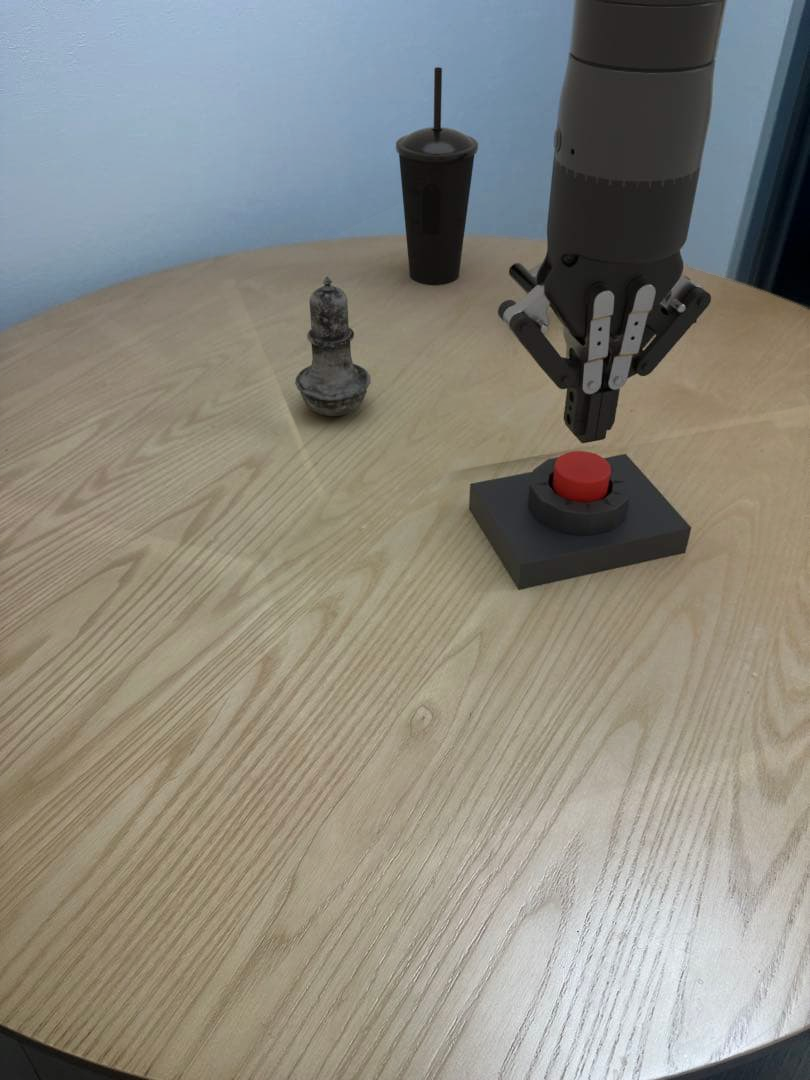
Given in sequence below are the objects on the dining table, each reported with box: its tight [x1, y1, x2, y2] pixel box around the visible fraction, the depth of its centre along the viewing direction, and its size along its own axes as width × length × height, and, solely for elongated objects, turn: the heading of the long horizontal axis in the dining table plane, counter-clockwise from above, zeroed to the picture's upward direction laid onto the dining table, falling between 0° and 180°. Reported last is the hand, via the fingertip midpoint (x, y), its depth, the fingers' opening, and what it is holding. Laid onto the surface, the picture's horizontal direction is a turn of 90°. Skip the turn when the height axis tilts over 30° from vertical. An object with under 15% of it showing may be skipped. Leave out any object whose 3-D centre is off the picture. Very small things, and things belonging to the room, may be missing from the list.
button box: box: [468, 453, 692, 591], centre depth 63 cm, size 12×9×4 cm
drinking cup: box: [395, 66, 479, 286], centre depth 89 cm, size 8×8×20 cm
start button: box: [553, 450, 611, 503], centre depth 62 cm, size 4×4×2 cm
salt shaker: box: [294, 275, 371, 417], centre depth 72 cm, size 6×6×12 cm
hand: (587, 434), depth 60 cm, fingers closed
